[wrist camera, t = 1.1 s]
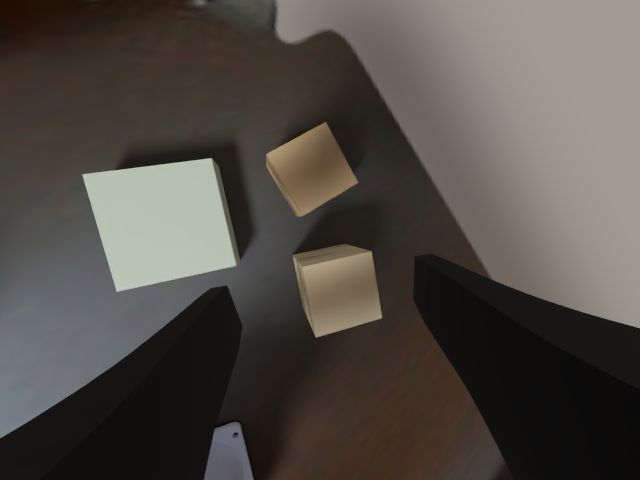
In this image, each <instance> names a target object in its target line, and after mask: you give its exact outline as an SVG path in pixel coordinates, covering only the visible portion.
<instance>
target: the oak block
mask: <svg viewBox="0 0 640 480" xmlns="http://www.w3.org/2000/svg"><path fill="white" fill-rule="evenodd" d="M266 167H267V168H268V170H269V172H270V173H271V175H272V177H273V178H274V180H275V182H276V183H277V185H278V187H279V188H280V190H281V192H282V193H283V195H284V197H285V198H286V200H287V202H288V203H289V205H290V207H291V208H292V210H293V212H294V213H295V215H296V217H299V216H304V215H305V214H307V213H309V212H310V211H312V210H314V209H315V208H317V207H319V206H320V205H322V204H324V203H325V202H327V201H329V200H330V199H332V198H334V197H335V196H337V195H339V194H340V193H342V192H343V191H345V190H347V189H348V188H350V187H352V186H353V185H355V184H357V183H358V181H357V179H356V178H355V176H354V174H353V172H352V170H351V168H350V166H349V164H348V163H347V161H346V159H345V157H344V155H343V153H342V151H341V149H340V147H339V146H338V144H337V142H336V140H335V138H334V136H333V134H332V132H331V131H330V129H329V127H328V125H327V123H326V122H325V123H323V124H321V125H319V126H317V127H316V128H314V129H312V130H310V131H308V132H306V133H304V134H303V135H301V136H299V137H297V138H295V139H293V140H292V141H290V142H288V143H286V144H284V145H282V146H281V147H279V148H277V149H275V150H273V151H271V152H270V153H268V154H266Z"/></svg>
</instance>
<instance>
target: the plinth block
mask: <svg viewBox="0 0 640 480" xmlns="http://www.w3.org/2000/svg"><path fill="white" fill-rule="evenodd" d="M83 178H84V182H85V185H86V189H87V192H88V195H89V199H90V202H91V206H92V209H93V212H94V216H95V219H96V223H97V226H98V229H99V233H100V236H101V240H102V243H103V246H104V250H105V253H106V257H107V260H108V263H109V267H110V270H111V274H112V277H113V280H114V284H115V287H116V291H117V292H118V291H122V290H127V289H132V288H136V287H141V286H145V285H150V284H155V283H159V282H164V281H168V280H173V279H178V278H182V277H187V276H192V275H196V274H201V273H205V272H210V271H215V270H219V269H224V268H228V267H233V266H237V264H238V263H239V261H240V257H239V253H238V249H237V244H236V240H235V235H234V231H233V227H232V222H231V218H230V214H229V209H228V205H227V200H226V196H225V192H224V187H223V183H222V178H221V174H220V170H219V166H218V165H217V164H216V163H215V161H214V160H213V159H212V158H208V159H201V160H193V161H185V162H177V163H169V164H161V165H154V166H146V167H138V168H130V169H122V170H114V171H106V172H99V173H91V174H83Z"/></svg>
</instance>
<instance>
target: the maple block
mask: <svg viewBox="0 0 640 480" xmlns="http://www.w3.org/2000/svg"><path fill="white" fill-rule="evenodd" d="M293 260H294V265H295V270H296V275H297V280H298V285H299V291H300V296H301V301H302V306H303V309H304V311H305V313H306V316H307V318H308V320H309V323H310V325H311V327H312V330H313V332H314V334H315V337H320V336H323V335H327V334H330V333H333V332H337V331H340V330H344V329H347V328H350V327H354V326H357V325H361V324H364V323H368V322H371V321H374V320H378V319H381V318H382V314H381V307H380V301H379V295H378V288H377V282H376V276H375V270H374V263H373V257H372V251H369V250H365V249H362V248H358V247H354V246H351V245H347V244H341V245H336V246H332V247H327V248H322V249H318V250H313V251H308V252H304V253H299V254H295V255H293Z"/></svg>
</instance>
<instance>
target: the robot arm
mask: <svg viewBox="0 0 640 480" xmlns="http://www.w3.org/2000/svg"><path fill="white" fill-rule="evenodd" d="M413 299H414V302H415V304H416V306H417V308H418V310H419V312H420V314H421V316H422V318H423V320H424V322H425V324H426V326H427V327H428V329H429V330H430V332H431V333H432V335H433V337H434V338H435V340H436V341H437V343H438V344H439V346H440V347H441V349H442V350H443V352H444V353H445V355H446V357H447V358H448V360H449V361H450V363H451V364H452V366H453V367H454V369H455V370H456V372H457V373H458V375H459V376H460V378H461V380H462V381H463V383H464V385H465V386H466V388H467V390H468V391H469V393H470V395H471V396H472V398H473V400H474V402H475V404H476V406H477V408H478V410H479V411H480V413H481V415H482V417H483V419H484V421H485V423H486V425H487V426H488V428H489V430H490V432H491V434H492V436H493V438H494V440H495V442H496V444H497V446H498V448H499V450H500V452H501V454H502V456H503V458H504V460H505V462H506V464H507V466H508V468H509V470H510V472H511V474H512V476H513V478H514V480H640V328H636V327H633V326H629V325H625V324H622V323H618V322H614V321H611V320H607V319H603V318H600V317H597V316H593V315H590V314H586V313H583V312H580V311H576V310H573V309H570V308H567V307H564V306H561V305H558V304H555V303H552V302H549V301H546V300H543V299H540V298H537V297H534V296H532V295H529V294H526V293H524V292H521V291H519V290H516V289H513V288H511V287H508V286H506V285H503V284H500V283H498V282H496V281H493V280H491V279H489V278H486V277H484V276H482V275H479V274H477V273H475V272H472V271H470V270H468V269H466V268H463V267H461V266H459V265H457V264H454V263H452V262H450V261H448V260H445V259H443V258H441V257H438V256H435V255H433V254H427V255H421V256H415V268H414V298H413ZM241 331H242V324H241V321H240V318H239V316H238V313H237V310H236V308H235V305H234V303H233V300H232V297H231V295H230V292H229V289H228V287H227V286H221V287H215V288H211V289H209V290H208V291H206V292H205V293H204V294H203V295H201V296H200V297H199V298H198V299H196V300H195V301H194V302H193V303H192V304H190V305H189V306H188V307H187V308H186V309H185V310H183V311H182V312H181V313H180V314H179V315H177V316H176V317H175V318H174V319H173V320H171V321H170V322H169V323H168V324H167V325H165V326H164V327H163V328H162V329H161V330H159V331H158V332H157V333H156V334H154V335H153V336H152V337H150V338H149V339H148V340H147V341H145V342H144V343H143V344H142V345H140V346H139V347H138V348H137V349H135V350H134V351H133V352H132V353H130V354H129V355H128V356H126V357H125V358H124V359H122V360H121V361H119V362H118V363H117V364H115V365H114V366H113V367H111V368H110V369H108V370H107V371H105V372H104V373H103V374H101V375H100V376H98V377H97V378H95V379H94V380H92V381H91V382H90V383H88V384H87V385H85V386H84V387H82V388H81V389H79V390H78V391H76V392H75V393H73V394H71V395H70V396H68V397H67V398H65V399H63V400H62V401H60V402H59V403H57V404H56V405H54V406H52V407H51V408H49V409H48V410H46V411H45V412H43V413H41V414H40V415H38V416H37V417H35V418H34V419H32V420H30V421H29V422H27V423H26V424H24V425H22V426H21V427H19V428H17V429H16V430H14V431H12V432H10V433H9V434H7V435H5V436H4V437H2V438H0V480H254V478H253V474H252V470H251V466H250V462H249V458H248V454H247V449H246V445H245V441H244V437H243V433H242V429H241V425H240V423H238V422H232V423H229V424H227V425H224V426H221V427H218V428H215V427H216V423H217V419H218V416H219V413H220V409H221V406H222V403H223V400H224V396H225V393H226V390H227V387H228V383H229V380H230V377H231V374H232V370H233V367H234V364H235V360H236V357H237V353H238V349H239V343H240V338H241ZM234 433H238V434H234Z"/></svg>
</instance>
